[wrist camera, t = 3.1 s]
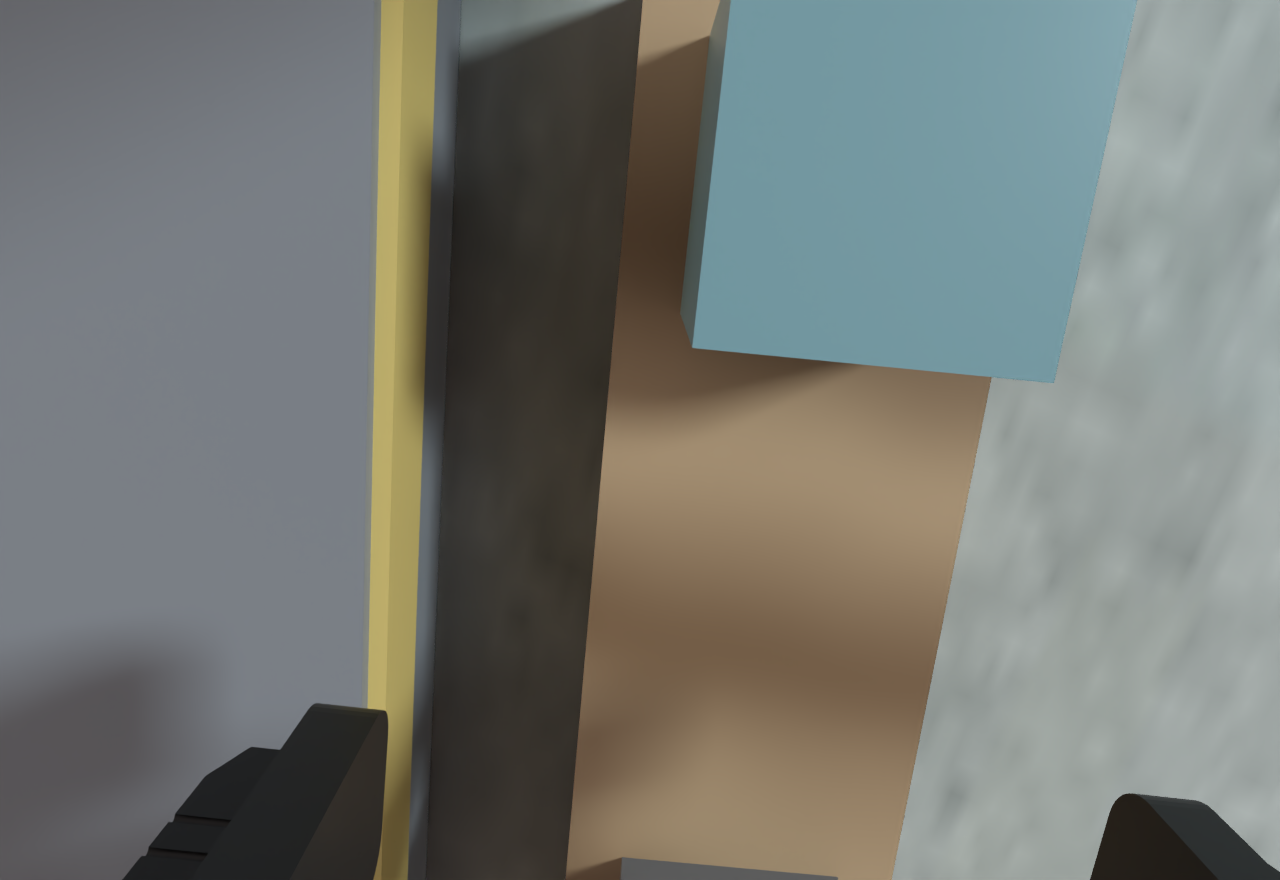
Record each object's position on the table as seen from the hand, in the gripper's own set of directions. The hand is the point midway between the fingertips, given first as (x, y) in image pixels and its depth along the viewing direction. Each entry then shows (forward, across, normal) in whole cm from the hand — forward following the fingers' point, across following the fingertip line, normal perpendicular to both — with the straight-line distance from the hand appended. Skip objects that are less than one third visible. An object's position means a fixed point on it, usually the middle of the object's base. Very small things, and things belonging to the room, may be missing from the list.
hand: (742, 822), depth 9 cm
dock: (+9, +10, 0) cm, 14 cm away
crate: (+5, -1, -7) cm, 9 cm away
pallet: (+9, -1, 0) cm, 9 cm away
